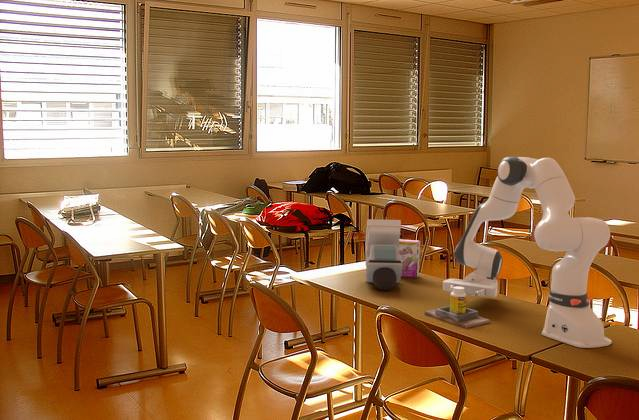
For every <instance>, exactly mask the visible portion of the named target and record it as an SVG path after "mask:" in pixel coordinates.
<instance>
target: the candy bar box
mask: <svg viewBox="0 0 639 420" xmlns="http://www.w3.org/2000/svg"><path fill="white" fill-rule="evenodd" d="M420 250H421V241H420V240H416V239H415V240H412V239H402V238H401V239H399V254H400V258H401V261H402V262H401V263H402V266H403V267H402V273H401V278H403V277H404V278H412V279H414V278H415V279H416V278H417V279H418V277H419V272H420V271H419V268H420Z"/></svg>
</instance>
